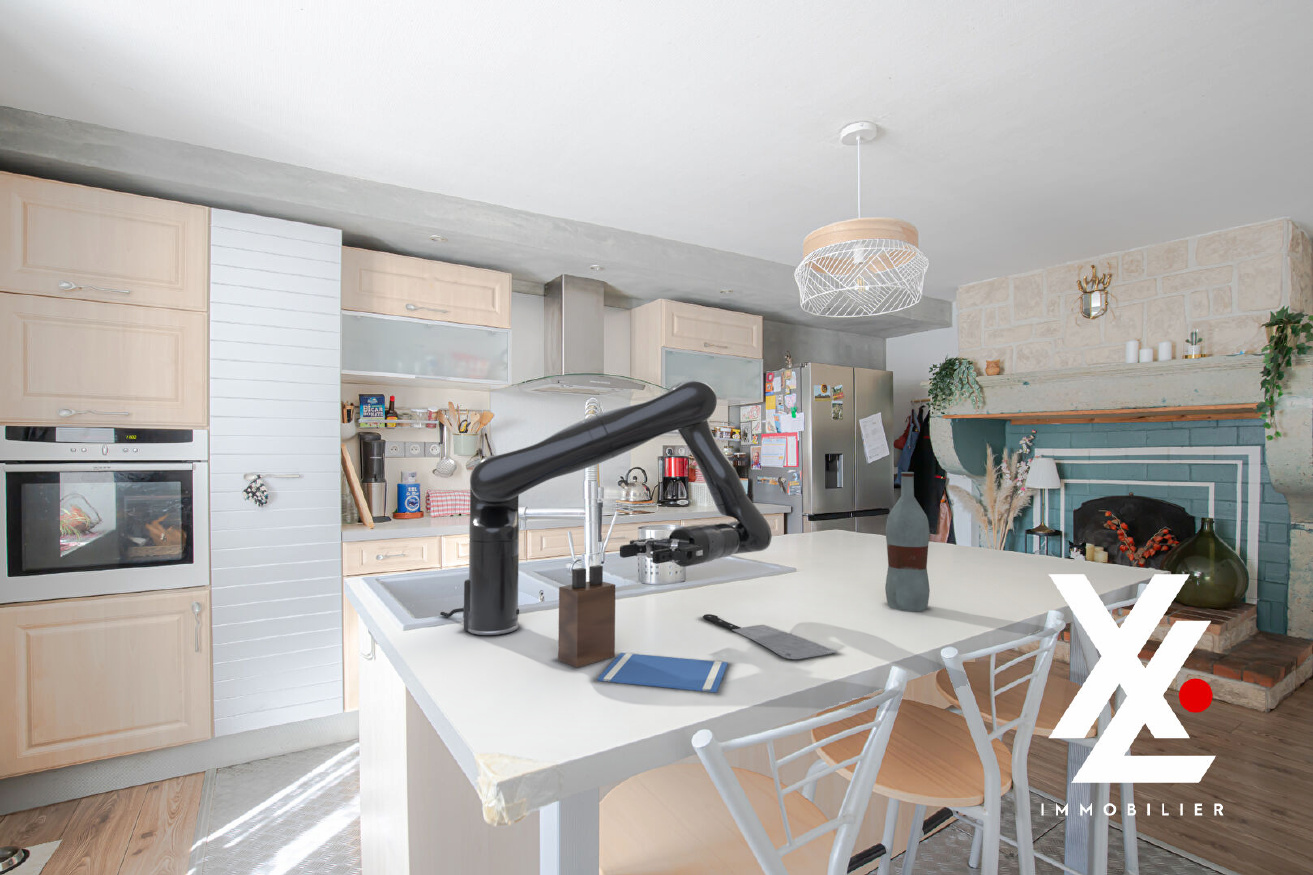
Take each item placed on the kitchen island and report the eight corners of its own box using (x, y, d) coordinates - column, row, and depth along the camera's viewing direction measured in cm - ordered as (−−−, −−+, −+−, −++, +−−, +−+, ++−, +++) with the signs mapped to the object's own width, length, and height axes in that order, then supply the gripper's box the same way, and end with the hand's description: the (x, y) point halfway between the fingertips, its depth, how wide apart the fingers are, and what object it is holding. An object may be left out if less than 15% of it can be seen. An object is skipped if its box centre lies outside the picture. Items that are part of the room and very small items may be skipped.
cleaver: (737, 612, 133) (697, 617, 129) (737, 609, 133) (697, 615, 129) (837, 653, 107) (791, 661, 103) (837, 650, 107) (791, 658, 103)
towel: (597, 680, 94) (597, 677, 94) (621, 655, 106) (621, 652, 106) (716, 692, 90) (716, 689, 90) (727, 664, 101) (727, 662, 101)
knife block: (558, 660, 103) (559, 568, 103) (595, 649, 109) (596, 562, 109) (577, 667, 99) (577, 572, 100) (614, 656, 105) (615, 566, 105)
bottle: (908, 600, 146) (908, 471, 146) (939, 609, 137) (939, 472, 138) (876, 603, 143) (876, 471, 143) (905, 613, 134) (906, 473, 134)
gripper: (670, 522, 129) (610, 529, 117) (725, 528, 119) (665, 537, 107) (670, 559, 129) (610, 570, 117) (725, 568, 119) (665, 581, 107)
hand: (637, 554), depth 112 cm, fingers open, 8 cm apart
